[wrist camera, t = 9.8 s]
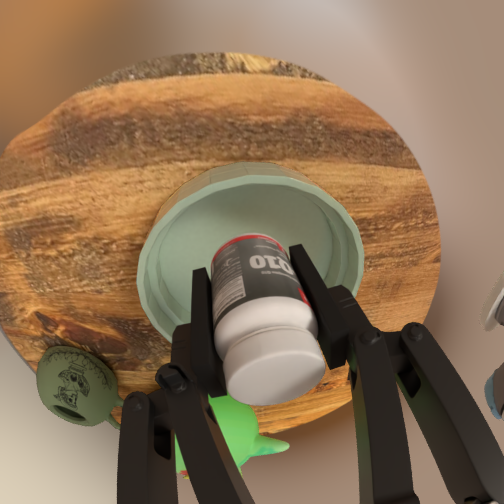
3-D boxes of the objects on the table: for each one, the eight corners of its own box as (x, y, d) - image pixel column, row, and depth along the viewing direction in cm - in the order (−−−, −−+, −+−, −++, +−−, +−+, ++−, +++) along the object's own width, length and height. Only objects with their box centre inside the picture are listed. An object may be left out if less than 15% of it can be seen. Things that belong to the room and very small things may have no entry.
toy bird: (160, 353, 32) (155, 461, 19) (276, 373, 37) (299, 463, 25) (142, 408, 39) (139, 483, 27) (231, 421, 45) (241, 489, 32)
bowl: (335, 142, 22) (364, 154, 17) (340, 305, 32) (357, 334, 28) (117, 194, 21) (97, 218, 17) (186, 342, 31) (185, 376, 27)
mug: (41, 365, 31) (27, 408, 24) (49, 324, 27) (27, 376, 20) (124, 404, 38) (119, 446, 31) (152, 374, 34) (148, 427, 27)
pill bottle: (301, 255, 17) (358, 361, 10) (255, 305, 19) (282, 415, 12) (241, 215, 15) (274, 328, 8) (195, 274, 17) (195, 397, 10)
